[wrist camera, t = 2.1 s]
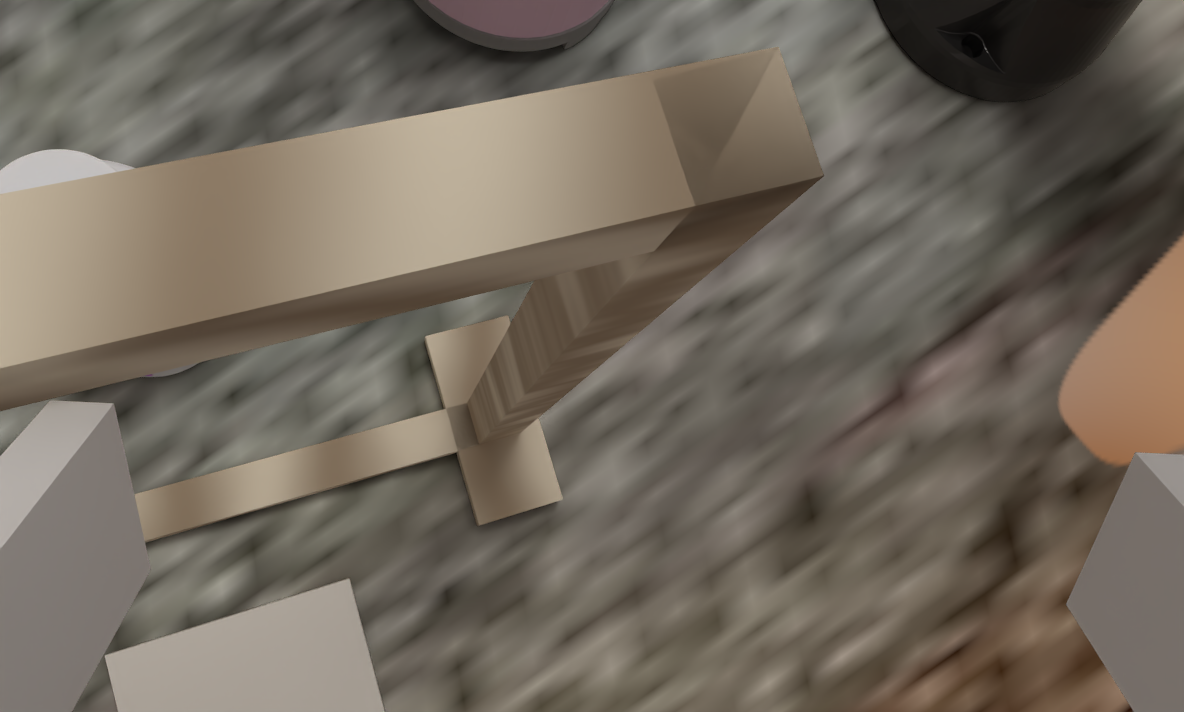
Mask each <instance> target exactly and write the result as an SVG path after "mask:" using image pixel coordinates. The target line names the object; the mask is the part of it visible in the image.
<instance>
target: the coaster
mask: <svg viewBox="0 0 1184 712" xmlns="http://www.w3.org/2000/svg"><path fill="white" fill-rule="evenodd" d="M105 659H106V663H107V667H108V672H109V676H110V680H111V684H112V688H113V693H114V697H115V701H116V705H117V709H118V712H385V708H384V704H383V701H382V697H381V693H380V689H379V686H378V682H377V678H376V674H375V671H374V667H373V663H372V659H371V655H370V652H369V648H368V644H367V640H366V637H365V633H364V629H363V625H362V622H361V618H360V614H359V610H358V607H357V603H356V599H355V595H354V592H353V588H352V584H351V580H350V577H349V578H346V579H343V580H340V581H337V582H333V583H330V584H327V585H324V586H321V587H317V588H314V589H311V590H308V591H305V592H302V593H298V594H295V595H292V596H289V597H286V598H282V599H279V600H276V601H273V602H270V603H267V604H263V605H260V606H257V607H254V608H251V609H248V610H244V611H241V612H238V613H235V614H232V615H228V616H225V617H222V618H219V619H216V620H213V621H209V622H206V623H203V624H200V625H197V626H194V627H190V628H187V629H184V630H181V631H178V632H174V633H171V634H168V635H165V636H162V637H159V638H155V639H152V640H149V641H146V642H143V643H140V644H136V645H133V646H130V647H127V648H124V649H120V650H117V651H114V652H111V653H109V654H107V655H105Z"/></svg>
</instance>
